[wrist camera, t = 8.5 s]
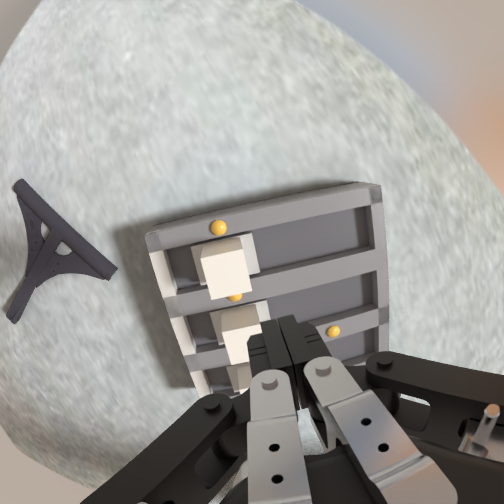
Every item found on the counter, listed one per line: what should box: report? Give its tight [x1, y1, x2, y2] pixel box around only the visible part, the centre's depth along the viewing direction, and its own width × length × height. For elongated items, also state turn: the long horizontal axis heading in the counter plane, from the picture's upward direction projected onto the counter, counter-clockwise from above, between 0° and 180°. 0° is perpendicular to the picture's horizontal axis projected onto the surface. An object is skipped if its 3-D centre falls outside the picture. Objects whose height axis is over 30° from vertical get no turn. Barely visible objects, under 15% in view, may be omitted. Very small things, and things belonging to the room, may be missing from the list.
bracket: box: [6, 179, 118, 324], centre depth 27 cm, size 14×15×3 cm
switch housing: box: [144, 182, 389, 399], centre depth 29 cm, size 20×19×4 cm
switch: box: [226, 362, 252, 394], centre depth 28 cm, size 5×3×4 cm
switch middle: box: [210, 298, 271, 365], centre depth 26 cm, size 5×3×4 cm
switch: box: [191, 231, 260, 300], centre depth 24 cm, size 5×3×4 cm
